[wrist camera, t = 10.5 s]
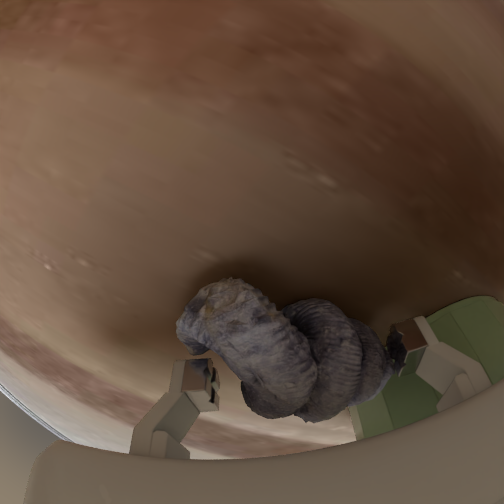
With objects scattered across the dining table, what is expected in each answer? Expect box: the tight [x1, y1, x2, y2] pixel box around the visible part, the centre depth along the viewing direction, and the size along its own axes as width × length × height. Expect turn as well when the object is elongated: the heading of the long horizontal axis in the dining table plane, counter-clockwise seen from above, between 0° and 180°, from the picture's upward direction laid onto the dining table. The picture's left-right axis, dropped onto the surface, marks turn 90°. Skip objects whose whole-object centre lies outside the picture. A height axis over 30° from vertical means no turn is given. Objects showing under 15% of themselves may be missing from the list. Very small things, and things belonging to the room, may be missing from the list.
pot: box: [348, 296, 504, 440], centre depth 13 cm, size 14×14×8 cm
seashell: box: [176, 277, 395, 423], centre depth 11 cm, size 5×5×10 cm
